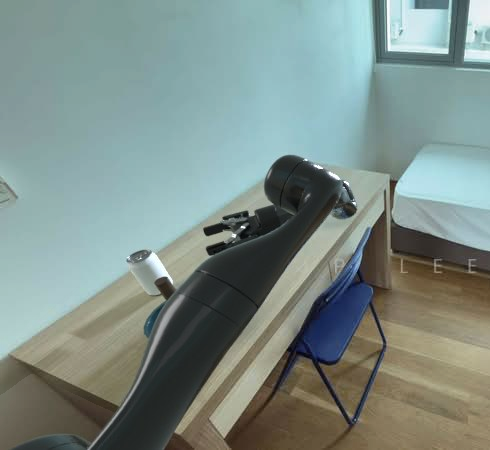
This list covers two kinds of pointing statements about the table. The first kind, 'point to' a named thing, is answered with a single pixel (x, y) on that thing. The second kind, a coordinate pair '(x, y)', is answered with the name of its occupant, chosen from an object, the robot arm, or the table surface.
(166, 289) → the brown post with base
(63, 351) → the table surface
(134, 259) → the can
